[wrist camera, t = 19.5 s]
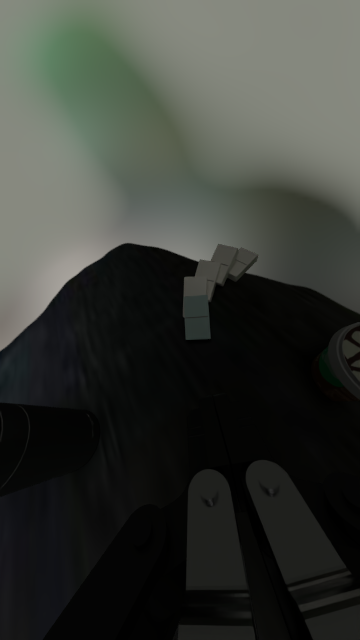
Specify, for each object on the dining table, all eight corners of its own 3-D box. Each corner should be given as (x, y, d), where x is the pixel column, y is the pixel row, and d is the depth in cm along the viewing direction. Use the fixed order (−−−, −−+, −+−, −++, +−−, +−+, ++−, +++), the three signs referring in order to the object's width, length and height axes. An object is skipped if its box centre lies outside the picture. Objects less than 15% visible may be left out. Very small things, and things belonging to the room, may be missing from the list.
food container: (320, 332, 34) (356, 301, 25) (358, 350, 31) (413, 324, 23) (290, 383, 30) (320, 368, 22) (329, 409, 28) (381, 403, 19)
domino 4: (221, 283, 41) (237, 248, 40) (202, 277, 43) (218, 243, 43) (223, 286, 43) (238, 252, 42) (205, 280, 45) (220, 248, 45)
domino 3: (210, 338, 35) (207, 294, 36) (185, 339, 36) (183, 296, 37) (210, 338, 37) (207, 297, 38) (187, 339, 38) (184, 298, 39)
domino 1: (209, 300, 39) (220, 262, 40) (189, 295, 41) (199, 259, 41) (210, 302, 41) (221, 266, 42) (191, 297, 43) (201, 263, 43)
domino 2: (205, 317, 37) (206, 276, 38) (182, 316, 38) (184, 277, 39) (206, 318, 39) (207, 279, 40) (184, 317, 40) (186, 280, 41)
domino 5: (236, 276, 42) (258, 254, 44) (219, 267, 44) (241, 247, 46) (235, 282, 43) (256, 260, 46) (219, 273, 46) (240, 253, 48)
